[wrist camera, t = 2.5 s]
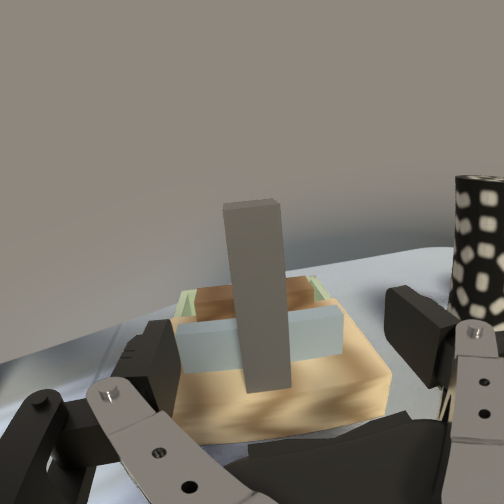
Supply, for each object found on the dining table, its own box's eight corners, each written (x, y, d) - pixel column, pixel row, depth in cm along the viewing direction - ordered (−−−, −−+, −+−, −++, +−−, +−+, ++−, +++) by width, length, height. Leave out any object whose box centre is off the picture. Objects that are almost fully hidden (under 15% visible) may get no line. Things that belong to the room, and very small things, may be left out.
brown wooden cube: (277, 329, 33) (274, 293, 32) (272, 312, 37) (269, 280, 36) (314, 323, 33) (314, 288, 32) (306, 308, 37) (305, 275, 36)
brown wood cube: (200, 337, 32) (193, 303, 31) (202, 320, 36) (197, 288, 35) (238, 334, 33) (234, 298, 32) (237, 316, 36) (233, 284, 35)
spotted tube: (453, 348, 31) (469, 174, 26) (511, 368, 25) (542, 181, 19) (421, 385, 27) (441, 177, 22) (488, 413, 20) (537, 186, 15)
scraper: (180, 399, 23) (139, 220, 19) (186, 361, 28) (157, 209, 25) (355, 375, 24) (359, 197, 20) (335, 342, 29) (333, 190, 25)
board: (159, 445, 24) (142, 405, 22) (178, 352, 39) (170, 317, 38) (384, 415, 24) (392, 372, 23) (335, 333, 40) (335, 298, 38)
